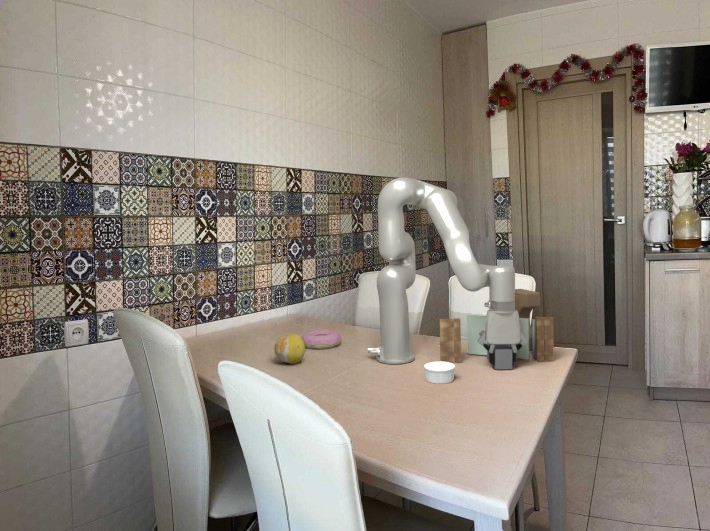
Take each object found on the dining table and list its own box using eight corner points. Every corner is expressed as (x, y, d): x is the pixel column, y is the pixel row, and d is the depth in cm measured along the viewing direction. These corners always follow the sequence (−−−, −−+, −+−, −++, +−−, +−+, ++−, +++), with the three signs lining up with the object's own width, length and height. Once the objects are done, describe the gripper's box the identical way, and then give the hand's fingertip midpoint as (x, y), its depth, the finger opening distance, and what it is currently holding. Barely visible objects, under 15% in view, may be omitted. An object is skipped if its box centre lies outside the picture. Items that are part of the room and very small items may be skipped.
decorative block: (541, 350, 178) (540, 292, 176) (526, 352, 176) (526, 293, 175) (521, 343, 189) (521, 288, 187) (507, 344, 187) (507, 289, 185)
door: (465, 354, 174) (464, 316, 173) (468, 352, 177) (467, 314, 175) (533, 361, 163) (533, 320, 162) (535, 359, 166) (535, 318, 165)
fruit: (292, 357, 181) (291, 329, 180) (312, 362, 173) (311, 333, 172) (268, 364, 174) (266, 334, 173) (287, 369, 166) (286, 339, 165)
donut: (335, 339, 206) (335, 326, 206) (346, 348, 192) (346, 334, 191) (297, 343, 201) (296, 330, 201) (305, 352, 187) (304, 339, 187)
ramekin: (448, 386, 144) (448, 371, 144) (419, 382, 149) (418, 367, 149) (459, 377, 152) (459, 363, 151) (431, 374, 157) (431, 359, 156)
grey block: (495, 369, 157) (495, 349, 157) (487, 357, 170) (487, 339, 170) (512, 369, 157) (512, 349, 156) (502, 357, 170) (502, 339, 169)
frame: (441, 363, 167) (440, 320, 166) (440, 361, 169) (439, 318, 168) (553, 361, 164) (553, 318, 163) (551, 359, 166) (551, 316, 165)
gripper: (475, 308, 154) (475, 368, 156) (534, 308, 153) (534, 368, 155) (471, 304, 162) (472, 361, 164) (528, 303, 160) (528, 361, 162)
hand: (502, 364), depth 159 cm, fingers closed on grey block, 5 cm apart
